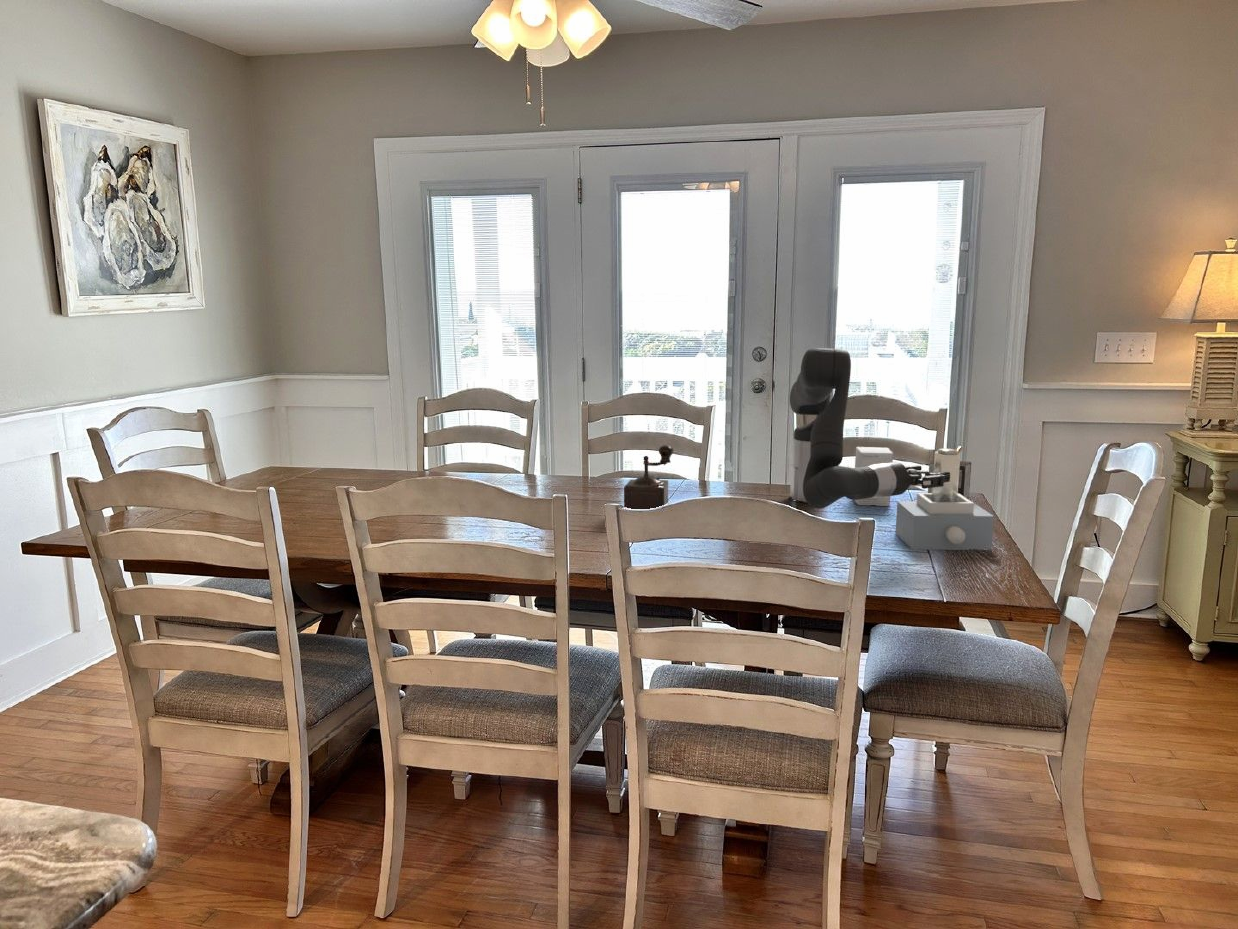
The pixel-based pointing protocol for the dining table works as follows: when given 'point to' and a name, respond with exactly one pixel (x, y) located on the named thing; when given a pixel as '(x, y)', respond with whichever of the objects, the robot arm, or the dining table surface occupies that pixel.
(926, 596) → the dining table surface
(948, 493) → the spout can
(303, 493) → the dining table surface
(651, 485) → the manual coffee grinder
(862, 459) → the supplement box
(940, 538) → the box
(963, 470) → the coffee box
